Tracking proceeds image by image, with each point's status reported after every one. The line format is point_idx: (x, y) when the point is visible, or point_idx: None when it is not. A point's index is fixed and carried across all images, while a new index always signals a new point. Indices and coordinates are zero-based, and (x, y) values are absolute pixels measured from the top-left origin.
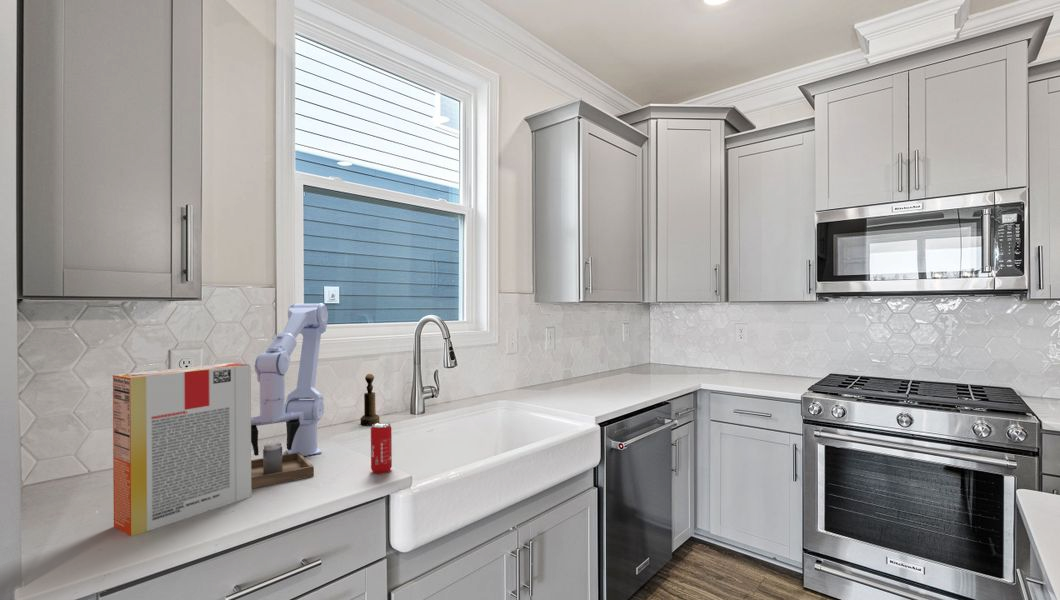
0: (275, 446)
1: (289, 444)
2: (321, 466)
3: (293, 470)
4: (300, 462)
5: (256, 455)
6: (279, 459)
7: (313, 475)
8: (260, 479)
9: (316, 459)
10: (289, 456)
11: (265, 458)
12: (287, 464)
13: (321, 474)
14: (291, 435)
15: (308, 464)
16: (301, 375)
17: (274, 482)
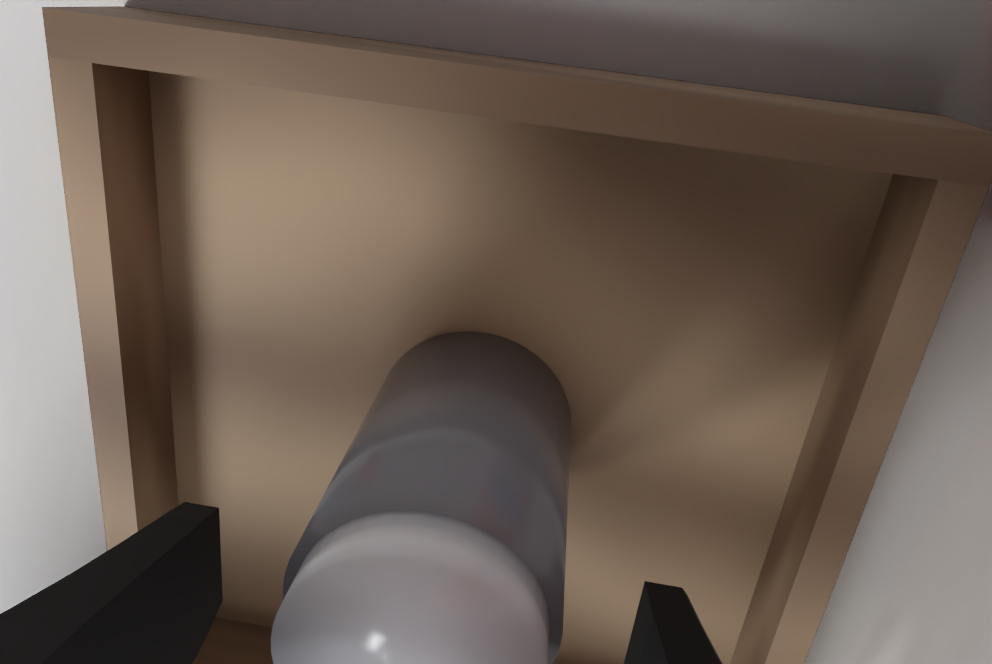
0: (392, 556)
1: (159, 551)
2: (2, 298)
3: (314, 44)
4: (167, 479)
5: (671, 586)
6: (389, 419)
7: (121, 7)
8: (751, 99)
9: (23, 537)
10: (228, 660)
11: (556, 503)
12: (288, 546)
13: (34, 3)
14: (14, 650)
15: (93, 167)
16: None
17: (574, 67)
